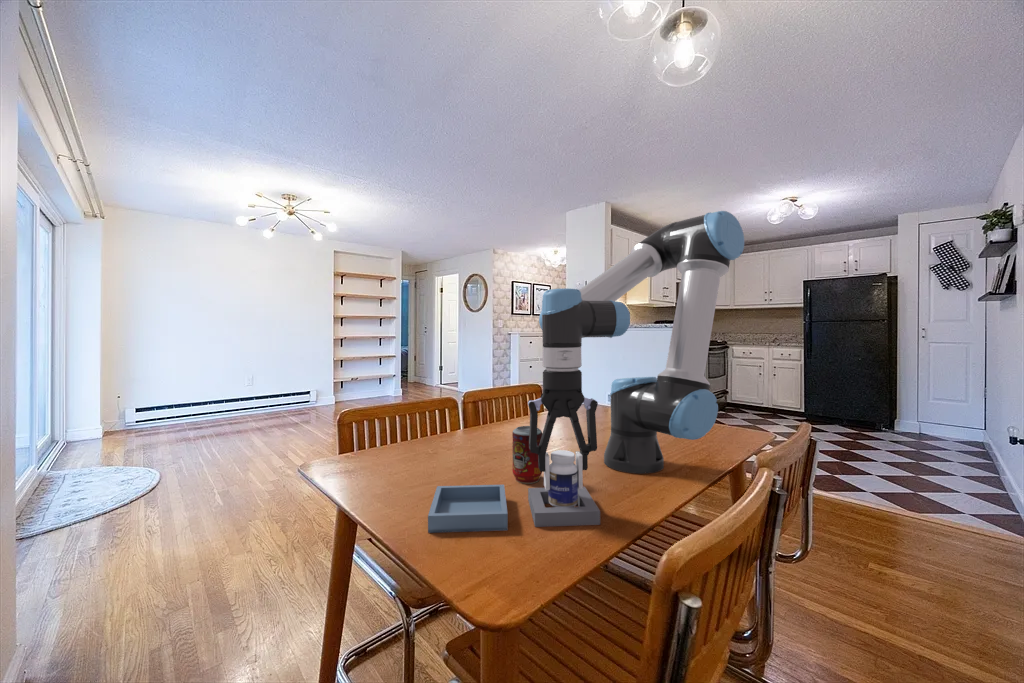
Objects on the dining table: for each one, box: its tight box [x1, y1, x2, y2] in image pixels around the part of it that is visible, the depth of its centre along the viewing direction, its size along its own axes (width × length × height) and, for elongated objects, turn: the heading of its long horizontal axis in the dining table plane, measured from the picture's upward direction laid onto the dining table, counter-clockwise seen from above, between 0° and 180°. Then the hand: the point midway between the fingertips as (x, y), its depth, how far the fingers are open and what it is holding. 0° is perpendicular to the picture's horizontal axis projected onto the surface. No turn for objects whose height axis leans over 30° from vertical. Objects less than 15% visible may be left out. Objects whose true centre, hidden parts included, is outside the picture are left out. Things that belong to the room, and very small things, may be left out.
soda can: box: [511, 425, 543, 485], centre depth 99 cm, size 7×7×12 cm
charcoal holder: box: [527, 486, 601, 528], centre depth 82 cm, size 12×12×2 cm
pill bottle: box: [548, 449, 578, 507], centre depth 82 cm, size 6×6×10 cm
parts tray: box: [427, 484, 509, 534], centre depth 81 cm, size 14×14×3 cm
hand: (563, 486), depth 82 cm, fingers closed on pill bottle, 6 cm apart
